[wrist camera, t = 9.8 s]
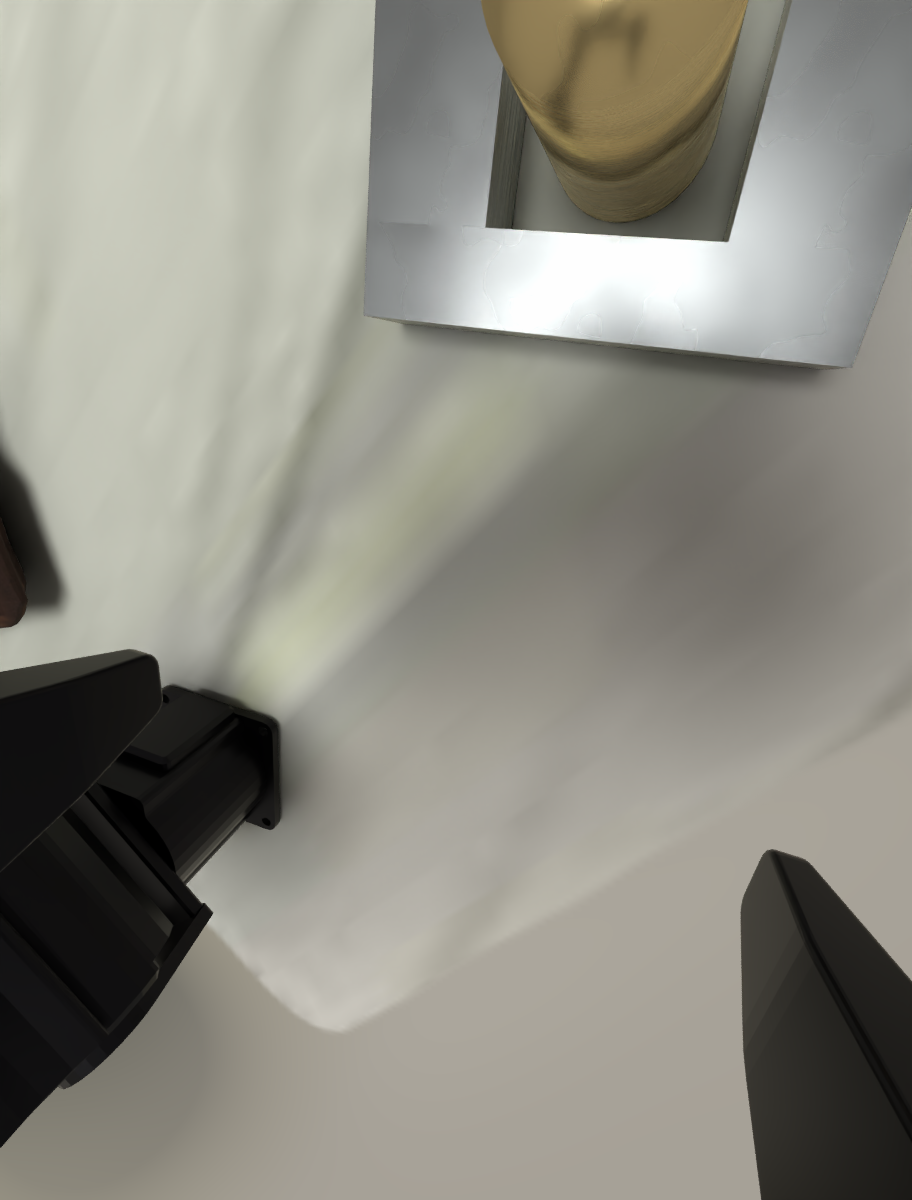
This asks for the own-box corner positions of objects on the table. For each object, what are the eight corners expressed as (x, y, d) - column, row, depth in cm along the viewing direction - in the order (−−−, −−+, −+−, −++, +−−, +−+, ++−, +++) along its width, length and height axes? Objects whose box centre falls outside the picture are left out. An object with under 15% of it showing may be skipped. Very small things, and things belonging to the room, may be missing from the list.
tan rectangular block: (693, 226, 14) (721, 110, 8) (541, 218, 15) (463, 109, 9) (743, 20, 13) (825, -321, 6) (569, 26, 14) (498, -264, 8)
